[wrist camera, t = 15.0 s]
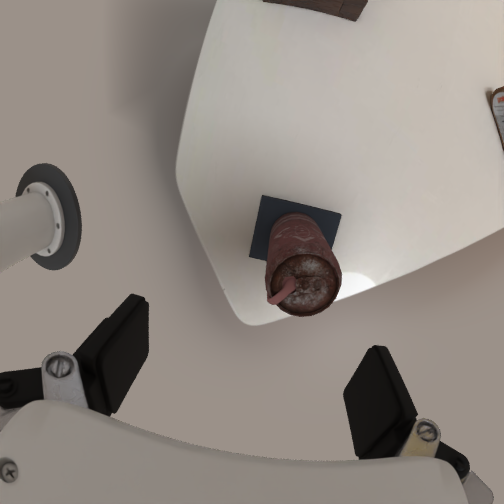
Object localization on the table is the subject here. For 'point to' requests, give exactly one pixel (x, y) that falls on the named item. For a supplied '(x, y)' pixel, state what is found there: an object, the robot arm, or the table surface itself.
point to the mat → (278, 207)
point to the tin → (499, 110)
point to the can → (300, 267)
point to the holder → (329, 6)
